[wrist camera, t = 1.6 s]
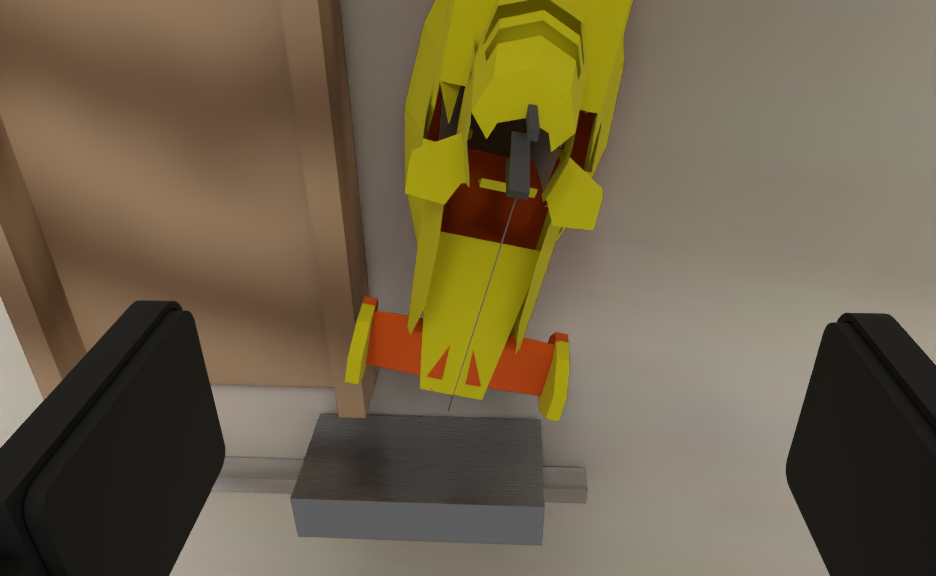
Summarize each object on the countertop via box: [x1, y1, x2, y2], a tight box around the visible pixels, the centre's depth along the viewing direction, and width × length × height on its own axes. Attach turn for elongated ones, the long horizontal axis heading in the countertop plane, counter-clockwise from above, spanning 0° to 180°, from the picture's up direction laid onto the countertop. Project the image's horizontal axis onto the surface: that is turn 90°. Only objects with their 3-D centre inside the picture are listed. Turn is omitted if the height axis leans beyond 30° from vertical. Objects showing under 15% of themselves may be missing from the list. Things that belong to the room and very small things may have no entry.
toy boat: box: [345, 0, 633, 421], centre depth 18 cm, size 6×18×10 cm, turn 169°
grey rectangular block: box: [291, 414, 544, 545], centre depth 27 cm, size 2×9×4 cm, turn 91°
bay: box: [0, 0, 587, 503], centre depth 22 cm, size 30×20×2 cm
